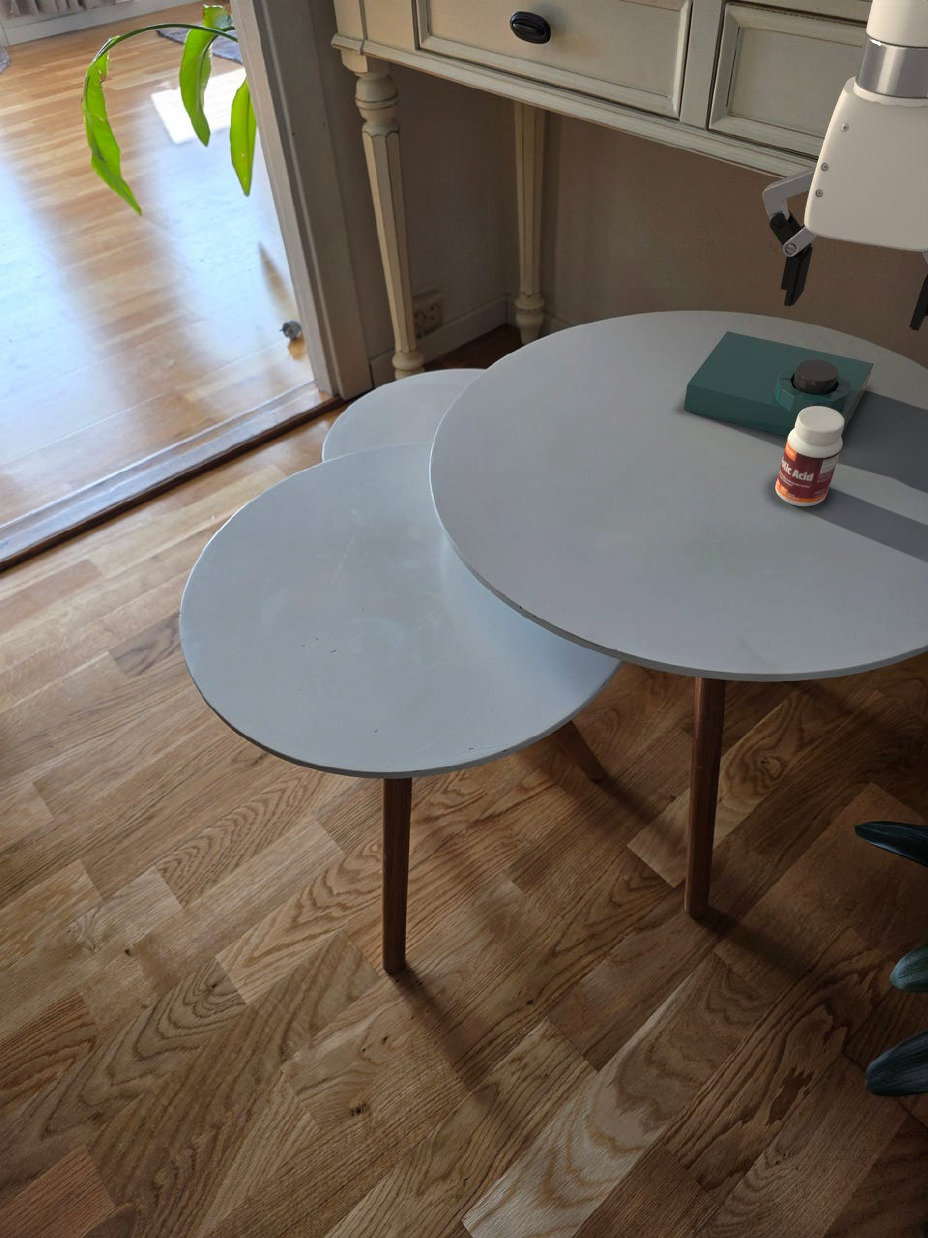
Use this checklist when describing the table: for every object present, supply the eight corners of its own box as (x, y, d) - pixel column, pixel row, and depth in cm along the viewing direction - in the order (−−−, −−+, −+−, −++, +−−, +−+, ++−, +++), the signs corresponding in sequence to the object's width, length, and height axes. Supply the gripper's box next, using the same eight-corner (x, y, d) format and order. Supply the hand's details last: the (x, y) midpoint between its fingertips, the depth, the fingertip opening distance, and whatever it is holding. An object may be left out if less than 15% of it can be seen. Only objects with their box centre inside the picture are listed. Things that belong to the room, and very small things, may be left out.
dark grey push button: (839, 380, 88) (843, 364, 87) (827, 400, 86) (832, 384, 84) (799, 370, 89) (803, 355, 88) (787, 390, 87) (791, 375, 86)
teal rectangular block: (865, 389, 94) (878, 347, 91) (833, 451, 87) (845, 409, 84) (722, 356, 101) (729, 315, 97) (681, 412, 94) (687, 370, 90)
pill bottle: (764, 490, 84) (781, 417, 78) (796, 470, 86) (815, 397, 80) (805, 515, 81) (826, 440, 75) (837, 493, 83) (860, 419, 77)
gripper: (1075, 58, 56) (980, 310, 68) (803, 40, 63) (762, 272, 75) (1059, 94, 52) (961, 355, 64) (770, 70, 59) (732, 310, 71)
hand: (853, 310), depth 70 cm, fingers open, 9 cm apart
